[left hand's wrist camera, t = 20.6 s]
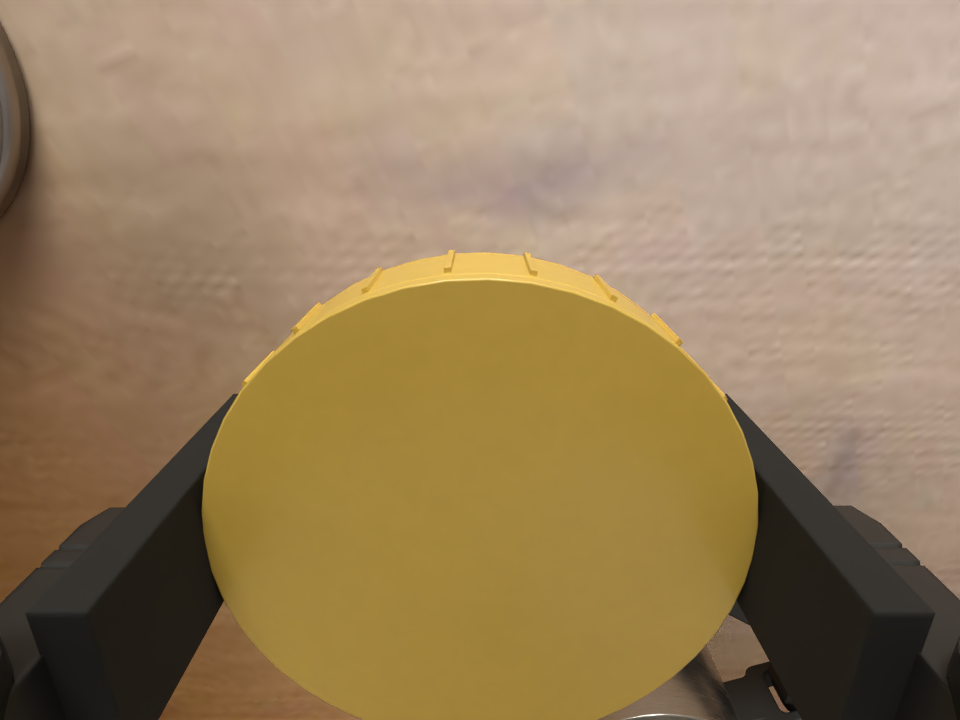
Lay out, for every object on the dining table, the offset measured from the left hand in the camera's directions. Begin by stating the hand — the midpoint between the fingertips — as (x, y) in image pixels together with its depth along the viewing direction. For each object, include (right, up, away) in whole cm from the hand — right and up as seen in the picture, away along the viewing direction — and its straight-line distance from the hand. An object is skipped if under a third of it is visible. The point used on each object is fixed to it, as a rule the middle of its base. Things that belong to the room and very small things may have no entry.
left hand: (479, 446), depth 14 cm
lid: (0, -1, -3) cm, 3 cm away
